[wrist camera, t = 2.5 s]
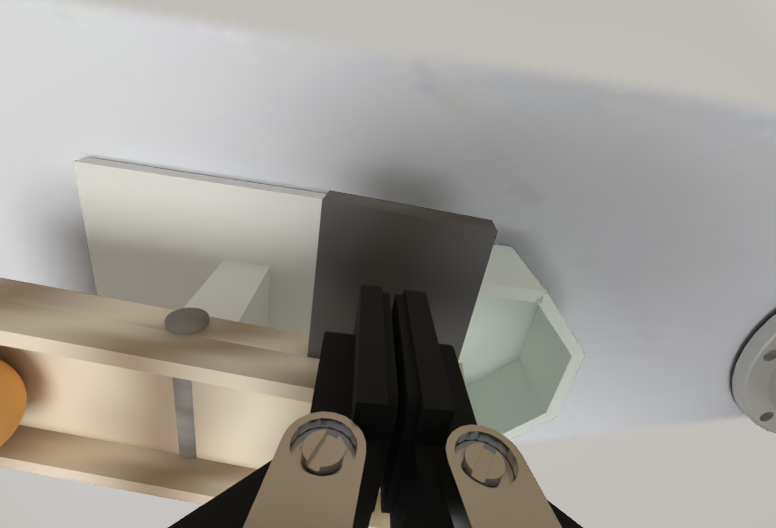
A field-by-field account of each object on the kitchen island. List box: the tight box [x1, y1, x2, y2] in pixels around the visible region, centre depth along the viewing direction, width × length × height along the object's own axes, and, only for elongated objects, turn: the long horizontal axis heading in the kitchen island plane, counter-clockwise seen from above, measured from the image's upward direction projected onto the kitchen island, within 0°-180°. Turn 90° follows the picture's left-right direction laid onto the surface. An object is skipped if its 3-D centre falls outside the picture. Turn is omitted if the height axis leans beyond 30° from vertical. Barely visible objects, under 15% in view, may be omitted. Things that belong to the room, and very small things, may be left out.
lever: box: [0, 191, 497, 528], centre depth 13 cm, size 20×13×3 cm, turn 81°
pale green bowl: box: [458, 244, 585, 440], centre depth 21 cm, size 10×10×5 cm
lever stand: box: [73, 157, 326, 335], centre depth 20 cm, size 16×13×7 cm
